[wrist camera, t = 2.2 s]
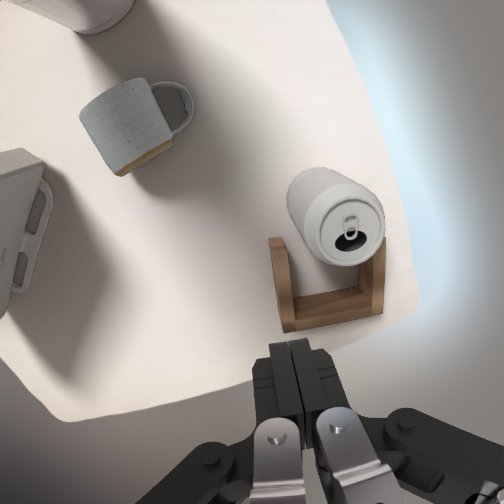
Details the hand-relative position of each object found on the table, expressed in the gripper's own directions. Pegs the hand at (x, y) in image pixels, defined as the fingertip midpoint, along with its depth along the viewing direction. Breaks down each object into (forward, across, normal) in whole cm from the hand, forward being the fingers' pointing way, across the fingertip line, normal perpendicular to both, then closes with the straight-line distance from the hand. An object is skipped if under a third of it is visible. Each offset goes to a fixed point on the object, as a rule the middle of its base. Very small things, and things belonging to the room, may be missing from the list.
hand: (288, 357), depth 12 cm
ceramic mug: (+26, +10, -11) cm, 30 cm away
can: (+26, -8, +1) cm, 27 cm away
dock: (+26, -8, +10) cm, 29 cm away
